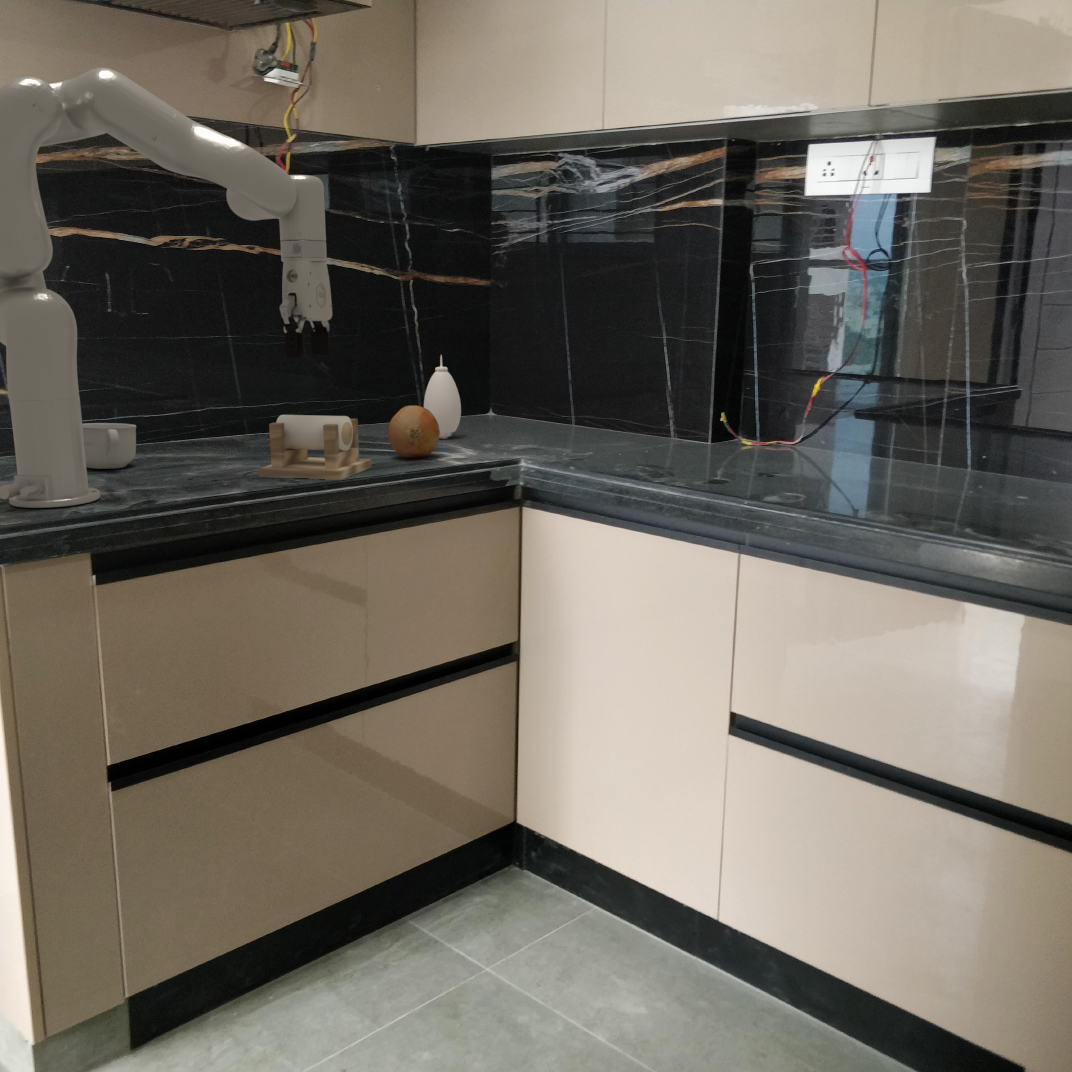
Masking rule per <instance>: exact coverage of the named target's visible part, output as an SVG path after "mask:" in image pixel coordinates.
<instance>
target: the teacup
mask: <svg viewBox="0 0 1072 1072" xmlns="http://www.w3.org/2000/svg"><path fill="white" fill-rule="evenodd" d="M82 427H83V437H84V448H85V458H86V468H89V469H96V470H102V469H105V470H107V469H108V470H110V469H120V468H121V469H122V468H125V467H127V466H128V464H129V463H131V462H132V461H133V460H134V458H135V456H136V451H137V430H136V429H137V425H136V424H131V423H116V422H114V423H113V422H112V423H111V422H110V423H109V422H94V423H93V422H92V423H91V422H90V423H89V422H87V423H86V422H85V423H82Z"/></svg>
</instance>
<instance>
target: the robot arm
mask: <svg viewBox="0 0 1072 1072" xmlns="http://www.w3.org/2000/svg"><path fill="white" fill-rule="evenodd" d="M104 134H108V135H110V136H111V137H113V138H115V139H116V140H118V142H119V141H120V142H121V143H123V144H124V145H126V146H127V147H129V148H130V149H132V150H134V151H135V152H137V153H139V154H140V155H142V156H144V157H145V158H146V159H149V160H150V161H152V162H153V163H155V164H156V165H158V166H160V167H161V168H163V169H165V170H168V171H170V172H173V173H176V174H180V175H183V176H188V177H195V178H199V179H203V180H206V181H209V182H212V183H215V184H216V185H219V186H221V187H223V188H225V189H227V190H226V202H227V204H228V207H229V209H230V210H231V211H232V212H233V213H234V214H235V215H237V216H238V217H239V218H241V219H244V220H247V221H261V220H263V221H264V220H272V219H278V222H279V236H280V237H279V240H280V255H281V256H280V259H281V262H282V264H283V265H282V279H281V280H282V281H281V282H282V286H281V287H282V289H281V291H282V293H281V294H282V302H281V304H280V305H279V312H280V315H281V323H282V325H283V332H284V337H285V340H284V341H285V356H286V358H304V357H306V346H305V345H306V344H305V333H304V332H302V331H303V328H304V324H305V321H308V322H309V323H310V325H311V328H312V330H311V331H310V342H311V345H310V346H311V354H312V355H330V351H331V349H330V348H331V347H330V330H331V329H330V322H331V319H332V317H333V304H332V292H331V282H330V275H329V269H328V264H327V262H328V261H327V260H328V259H327V258H328V257H327V253H328V252H327V241H326V240H327V236H326V235H327V233H326V232H327V231H326V209H325V207H326V206H325V190H324V189H325V188H324V183H323V181H322V180H321V178H319V177H317V176H315V175H314V176H313V175H310V174H309V175H308V174H288V172H287V171H285V170H284V169H283V168H282V167H281V166H279V165H278V164H276V163H275V162H274V161H272V160H271V159H269V158H268V157H266V156H265V155H263V154H261V152H259V151H258V150H256V149H254V148H252V147H251V146H249V145H247V144H245V143H243V142H241V141H239V140H238V139H235V138H233V137H231V136H228V135H226V134H223V133H221V132H219V131H216V130H215V129H213V128H211V127H208V126H207V125H204V124H202V123H199V122H197V121H194V120H193V119H191V118H190V117H188V116H186V115H185V114H184V113H182V112H180V110H179V111H178V110H177V109H176V108H174V107H172V106H171V105H170V104H168V103H167V102H165V101H164V100H162V99H161V98H159V97H158V96H156V95H154V94H153V93H151V92H150V91H148V90H147V89H146V88H144V87H142V86H141V85H139V84H138V83H136V82H134V81H133V80H132V79H130V78H128V77H127V76H126V75H124V74H123V73H121V72H119V71H116V70H114V69H112V68H108V67H96V68H93V69H90V70H88V71H86V72H84V73H82V74H80V75H79V76H77V77H74V78H69V79H65V80H62V81H60V80H59V81H56V82H51V83H50V82H49V83H48V82H47V81H45V80H44V79H40V78H38V77H35V76H31V75H30V76H27V75H26V76H25V75H24V76H18V77H15V78H13V79H12V78H11V79H10V80H9V81H7V82H5V83H4V84H2V85H1V86H0V343H1V344H2V345H3V346H5V347H6V348H5V352H6V353H5V355H6V356H5V357H6V359H5V361H6V363H5V364H6V365H5V366H6V382H7V391H8V392H7V393H8V400H9V407H10V417H11V418H10V419H11V427H12V432H13V433H12V434H13V442H14V452H15V461H16V463H15V464H16V470H17V471H16V472H17V475H14V476H13V479H14V481H13V482H12V484H5V485H2V486H0V499H1V500H7V499H8V502H9V504H10V505H11V506H12V507H16V508H25V509H26V508H27V509H46V508H47V509H48V508H63V507H69V506H71V507H72V506H77V505H82V504H87V503H91V502H94V501H97V500H98V499H99V500H100V498H101V493H100V492H101V491H100V490H99V489H98V488H95V487H91V486H89V482H88V481H89V480H88V471H87V467H86V458H85V448H84V437H83V427H82V424H83V418H82V408H81V398H80V392H79V389H80V388H79V381H78V363H77V362H78V361H77V357H78V356H77V355H78V325H77V320H76V317H75V314H74V311H73V310H72V308H71V306H70V305H69V303H68V302H67V301H66V300H65V298H63V296H61V294H58V293H57V292H55V291H53V290H51V289H48V288H47V285H46V284H47V283H46V281H45V277H44V276H45V275H44V272H43V271H45V270H46V269H47V268H48V267H49V265H50V263H51V262H52V258H53V250H54V248H53V241H52V238H51V235H50V231H49V230H50V229H49V228H48V223H47V220H46V216H45V211H44V206H43V202H42V198H41V193H40V189H39V183H38V176H37V156H38V152H39V149H40V148H41V147H45V146H51V145H57V144H63V143H71V142H75V141H79V140H81V141H82V140H84V139H89V138H92V137H93V138H94V137H97V136H101V135H104Z"/></svg>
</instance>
